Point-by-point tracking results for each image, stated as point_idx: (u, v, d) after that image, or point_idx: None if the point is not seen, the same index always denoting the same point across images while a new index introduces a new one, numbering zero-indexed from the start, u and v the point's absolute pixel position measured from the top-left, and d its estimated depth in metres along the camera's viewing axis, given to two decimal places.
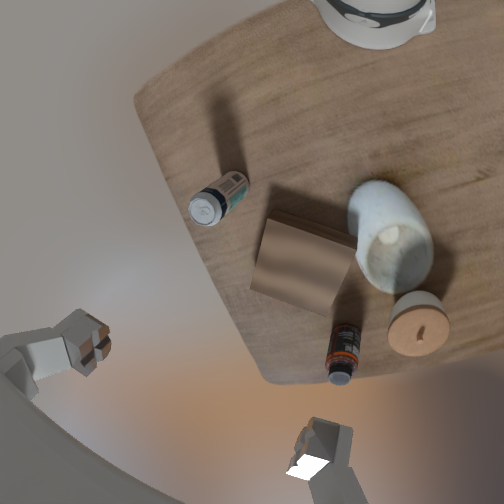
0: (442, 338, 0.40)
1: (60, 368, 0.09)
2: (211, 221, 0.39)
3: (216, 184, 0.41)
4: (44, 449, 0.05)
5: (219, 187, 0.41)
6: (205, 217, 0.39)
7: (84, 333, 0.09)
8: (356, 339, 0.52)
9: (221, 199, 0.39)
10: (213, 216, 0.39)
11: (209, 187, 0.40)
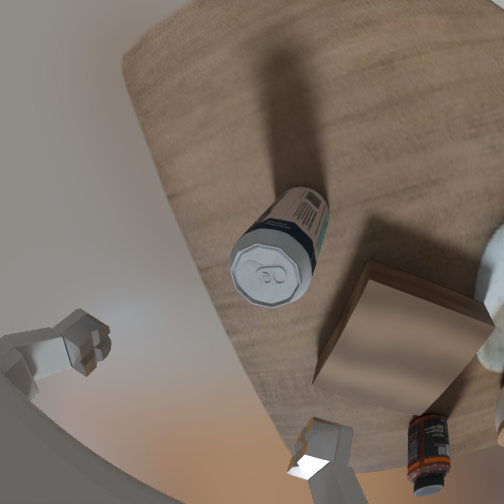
0: None
1: (60, 367, 0.09)
2: (286, 299, 0.17)
3: (287, 211, 0.19)
4: (44, 449, 0.05)
5: (298, 219, 0.18)
6: (272, 289, 0.17)
7: (84, 333, 0.09)
8: (446, 433, 0.28)
9: (309, 247, 0.17)
10: (293, 288, 0.16)
11: (276, 217, 0.18)
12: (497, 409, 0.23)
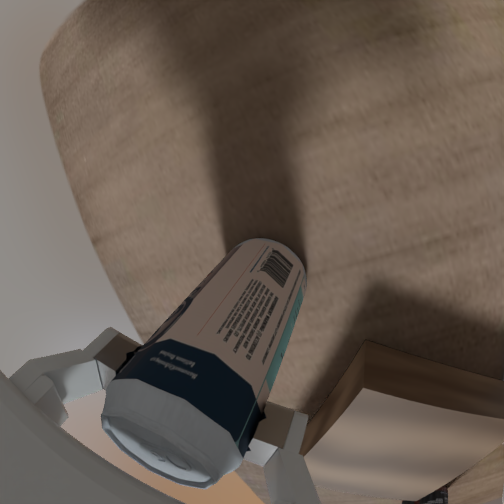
0: None
1: (91, 390, 0.09)
2: (199, 482, 0.07)
3: (213, 315, 0.10)
4: (44, 449, 0.05)
5: (227, 340, 0.09)
6: (173, 468, 0.07)
7: (119, 355, 0.09)
8: None
9: (238, 412, 0.08)
10: (207, 478, 0.07)
11: (182, 337, 0.09)
12: None
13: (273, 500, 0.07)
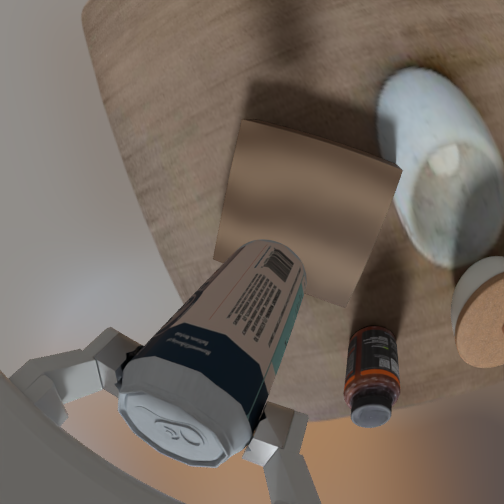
0: None
1: (91, 390, 0.09)
2: (210, 461, 0.08)
3: (222, 303, 0.11)
4: (44, 449, 0.05)
5: (237, 323, 0.10)
6: (185, 447, 0.08)
7: (119, 355, 0.09)
8: (393, 348, 0.29)
9: (248, 387, 0.08)
10: (218, 454, 0.08)
11: (196, 321, 0.10)
12: (451, 310, 0.25)
13: (273, 500, 0.07)
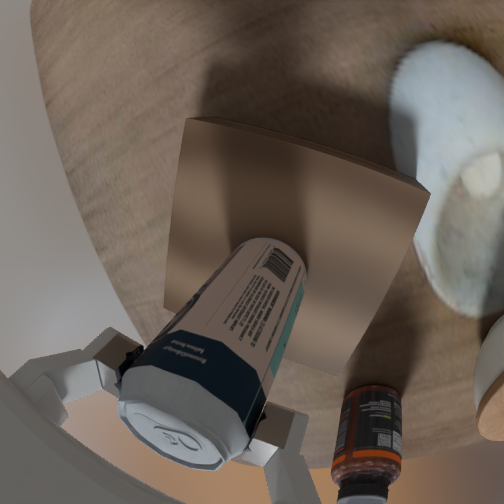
0: None
1: (90, 390, 0.09)
2: (209, 465, 0.08)
3: (219, 308, 0.11)
4: (44, 449, 0.05)
5: (233, 329, 0.10)
6: (185, 451, 0.08)
7: (119, 355, 0.09)
8: (396, 415, 0.21)
9: (245, 394, 0.08)
10: (216, 459, 0.08)
11: (192, 328, 0.10)
12: (475, 376, 0.16)
13: (273, 500, 0.07)
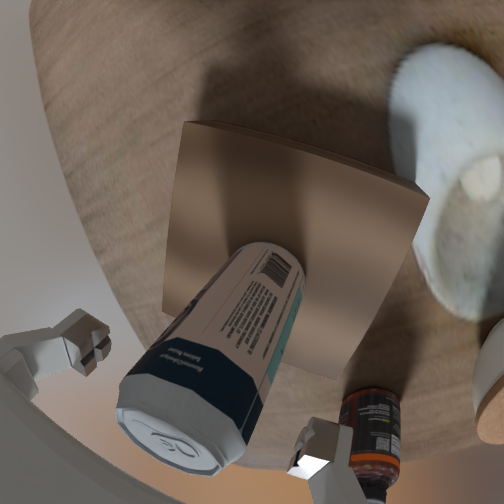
0: None
1: (60, 367, 0.09)
2: (206, 470, 0.08)
3: (216, 315, 0.11)
4: (44, 449, 0.05)
5: (230, 337, 0.10)
6: (182, 457, 0.08)
7: (84, 333, 0.09)
8: (395, 419, 0.21)
9: (241, 402, 0.08)
10: (213, 465, 0.08)
11: (189, 335, 0.10)
12: (474, 379, 0.16)
13: None
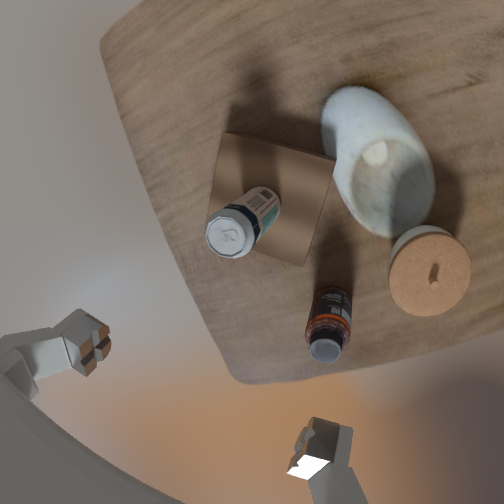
0: (463, 283, 0.29)
1: (60, 367, 0.09)
2: (239, 251, 0.27)
3: (242, 200, 0.30)
4: (44, 449, 0.05)
5: (248, 204, 0.29)
6: (230, 245, 0.27)
7: (84, 333, 0.09)
8: (345, 303, 0.40)
9: (252, 219, 0.28)
10: (242, 243, 0.27)
11: (234, 203, 0.29)
12: None
13: None
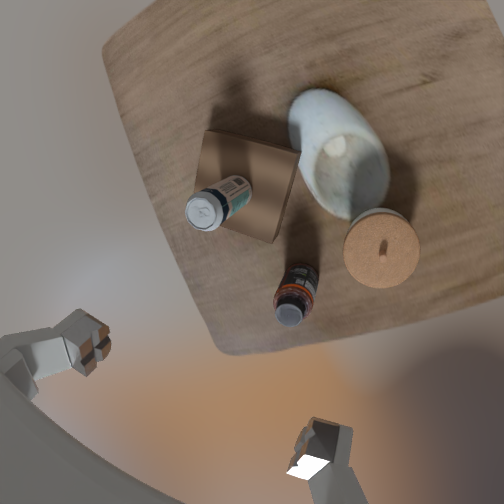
0: (412, 259, 0.36)
1: (60, 367, 0.09)
2: (211, 224, 0.34)
3: (216, 185, 0.37)
4: (44, 449, 0.05)
5: (220, 188, 0.36)
6: (204, 220, 0.34)
7: (84, 333, 0.09)
8: (310, 276, 0.47)
9: (222, 199, 0.35)
10: (213, 218, 0.34)
11: (208, 188, 0.36)
12: None
13: None
